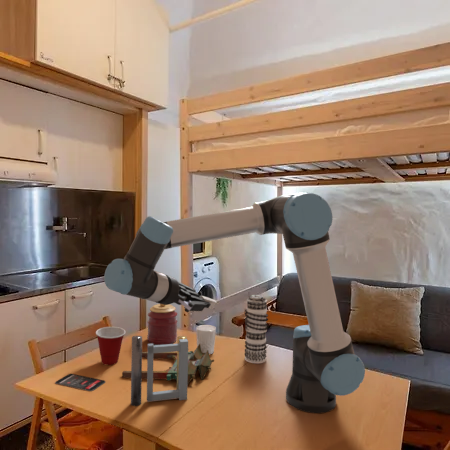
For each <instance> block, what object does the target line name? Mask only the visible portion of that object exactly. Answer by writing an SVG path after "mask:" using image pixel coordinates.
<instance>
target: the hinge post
mask: <svg viewBox="0 0 450 450" xmlns="http://www.w3.org/2000/svg"><path fill="white" fill-rule="evenodd" d="M142 352H143V336H142V335H134V336H131V361H130V363H131V369H130V371H131V378H130V379H131V380H130V387H131V388H130V405H131V406H133V407H138V406H141V404H142V380H143V379H142V371H143V370H142V369H143V363H142V362H143V358H142Z"/></svg>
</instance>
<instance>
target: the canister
mask: <svg viewBox="0 0 450 450" xmlns="http://www.w3.org/2000/svg"><path fill="white" fill-rule="evenodd" d="M176 309H177V308H176V307H175V306H174V305H172V304H169V305H163V304H160V303H156V304H154V305H152V306H151V307H150V308H149V310H150V311H149V312H148V313H147V316H148V320H147V341H148V344H153V345H165V344H175V342H176V341H177V337H178V331H177V329H178V319H177V316H178V312H177V311H176Z"/></svg>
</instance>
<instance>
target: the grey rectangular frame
mask: <svg viewBox="0 0 450 450" xmlns="http://www.w3.org/2000/svg"><path fill="white" fill-rule="evenodd" d="M177 351H179V376H178V389H168V390H167V389H166V390H159V391H154V379H153V371H154V358H153V353H163V352H177ZM147 352H148V356H147V358H146V359H147V361H146V362H147V363H146V364H147V365H146V366H147V367H146V368H147V369H146V371H147V379H146V402H147V403H149V402H157V401H158V402H159V401H166V400H174V399H175V400H176V399H178V400H179V401H186V400H188V386H187V381H188V352H189V340H188V338H187V339H179V343H178V344H177V343H171V344H165V345H155V344H151V343H147Z"/></svg>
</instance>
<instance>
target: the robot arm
mask: <svg viewBox="0 0 450 450" xmlns="http://www.w3.org/2000/svg"><path fill="white" fill-rule="evenodd" d="M332 211H333V210H332V208H331V206H330V204H329V203H328V202H327V200H326V199H325V198H324V197H322V196H320V195H318V194H316V193H314V192H307V191H306V192H305V191H301V192H296V193H285V194H282V195H279V196H276V197H273V198H270V199H267V200H263V201H256V202H254V203H252V206H248V207H244V208H237V209H231V210H227V211H220V212H219V211H218V212H214V213H208V214H201V215H196V216H191V217H186V218H179V219H174V220H168V221H162V220H159V219H157V218H155V217H153V216H150V215H149V216H147V217H145V219H144V220H143V222H142V224H141V225H140V227H139V228H138V230H137V231H136V234H135V236H134V239H133V241H132V243H131V245H130V247H129V250H128V251H127V253H126V255H125V256H124V257H123V258H115V259H113V260H111V262H110V263H108V265H107V267H106V269H105V272H104V277H103V281H104V284H105V286H106V287H107V288H108V289H109V290H110V291H114V292H116V293H120V294H121V295H125V296H130V297H133V298H134V297H135V298H139V299H141V300H146V301H150V302H154V303H156V304H163V305H169V304H170V305H172V304H176V305H178V306H181V305H182V306H184V307H183V308H184V309H183V310H184V311H185V312H186V313H189V312H203V310H204V309H208V310H213V309H214V308H215V306H216V305H217V304H218V302H217V300H216V299H213V298H210V297H208V296H204V295H202V291H200V290H199V291H198V292H197V290H196V289H195V288H192V287H190V286H189V285H186V283H185V284H184V283H183V282H180V281H178V280H177V278H175V277H173V276H171V275H167V274H165V273H162V272H159V271H156V270H155V268H156V265H157V264H158V262H159V260H160V258H161V257H162V255H163V253H164V252H165V250H168V249H172V248H179V247H182V246H188V245H193V244H194V245H195V244H199V243H205V242H210V241H211V242H212V241H215V240H217V241H218V240H222V239H226V238H227V239H228V238H233V237H238V236H239V237H240V236H243V235H244V236H245V235H249V234H255V233H256V234H258V235H260V236H262V235H268V234H278V235H282V238H283V242H284V245H285V249H286V250H288V251H290V252H291V253H292V256H293V260H294V264H295V265H294V266H295V269H296V273H297V278H298V282H299V287H300V291H301V297H302V301H303V305H304V309H305V313H306V317H307V322H308V324H305V325H304V324H303V325H299V326H295V328H294V330H293V336H292V372H291V373H292V374H291V376H290V379H289V380H288V381H289V382H288V385H287V386H286V390H285V400H286V401H287V403H288V404H289V405H290V406H291V407H293V408H295V409H297V410H299V411H302V412H305V413H312V414H324V413H328V412H330V411H333V410H334V409H335V407H336V406H337V396H339V397H341V396H348V395H350V394H352V393H354V392H355V391H356V390H358V389H359V387H360V385H361V384H362V382H363V381H364V379H365V375H366V368H365V364H364V362H363V360H362V359H361V357H359V355H357V354H355V350H354V346H353V341H352V337H351V335H350V334H349V333H347V332H345V330H344V328H343V324H342V319H341V313H340V309H339V305H338V300H337V296H336V291H335V285H334V281H333V277H332V271H331V267H330V262H329V258H328V253H327V249H326V248H327V247H326V246H327V245H328V243H329V242H330V234H329V231H330V228H331V226H332V224H333V212H332Z"/></svg>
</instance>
